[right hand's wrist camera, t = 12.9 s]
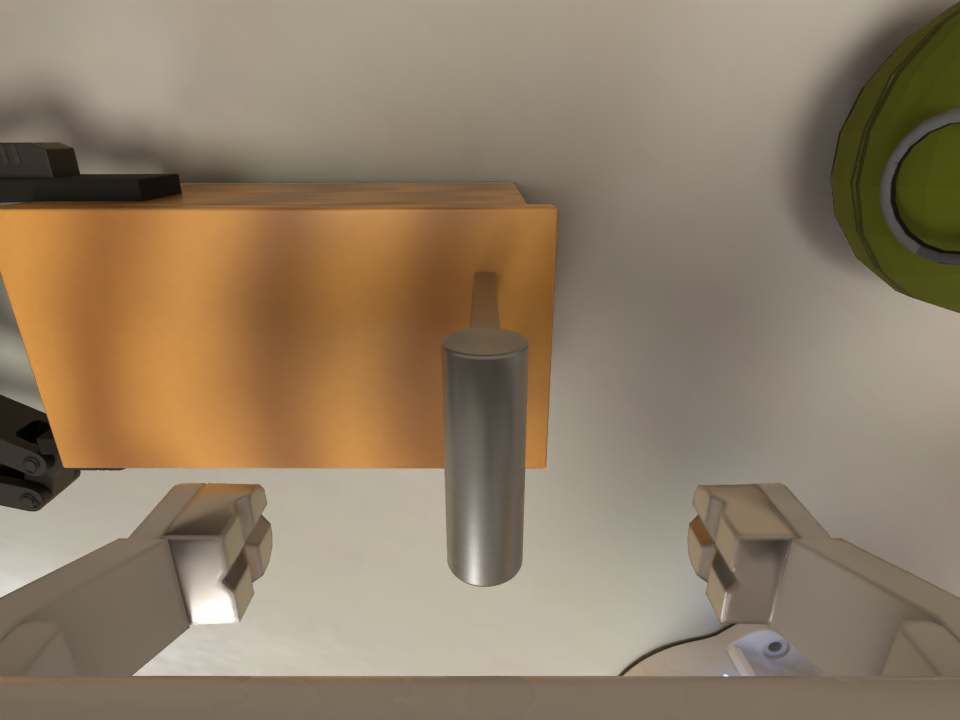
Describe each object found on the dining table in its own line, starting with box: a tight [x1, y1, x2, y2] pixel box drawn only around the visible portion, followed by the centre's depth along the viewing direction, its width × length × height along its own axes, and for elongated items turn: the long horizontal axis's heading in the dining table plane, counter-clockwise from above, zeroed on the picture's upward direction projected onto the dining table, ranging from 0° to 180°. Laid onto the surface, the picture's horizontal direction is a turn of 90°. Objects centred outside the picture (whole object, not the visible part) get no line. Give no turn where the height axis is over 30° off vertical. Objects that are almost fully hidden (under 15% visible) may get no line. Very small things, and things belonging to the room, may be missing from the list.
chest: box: [9, 182, 526, 206], centre depth 24 cm, size 17×9×9 cm, turn 90°
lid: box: [0, 204, 558, 587], centre depth 16 cm, size 18×9×9 cm, turn 90°
